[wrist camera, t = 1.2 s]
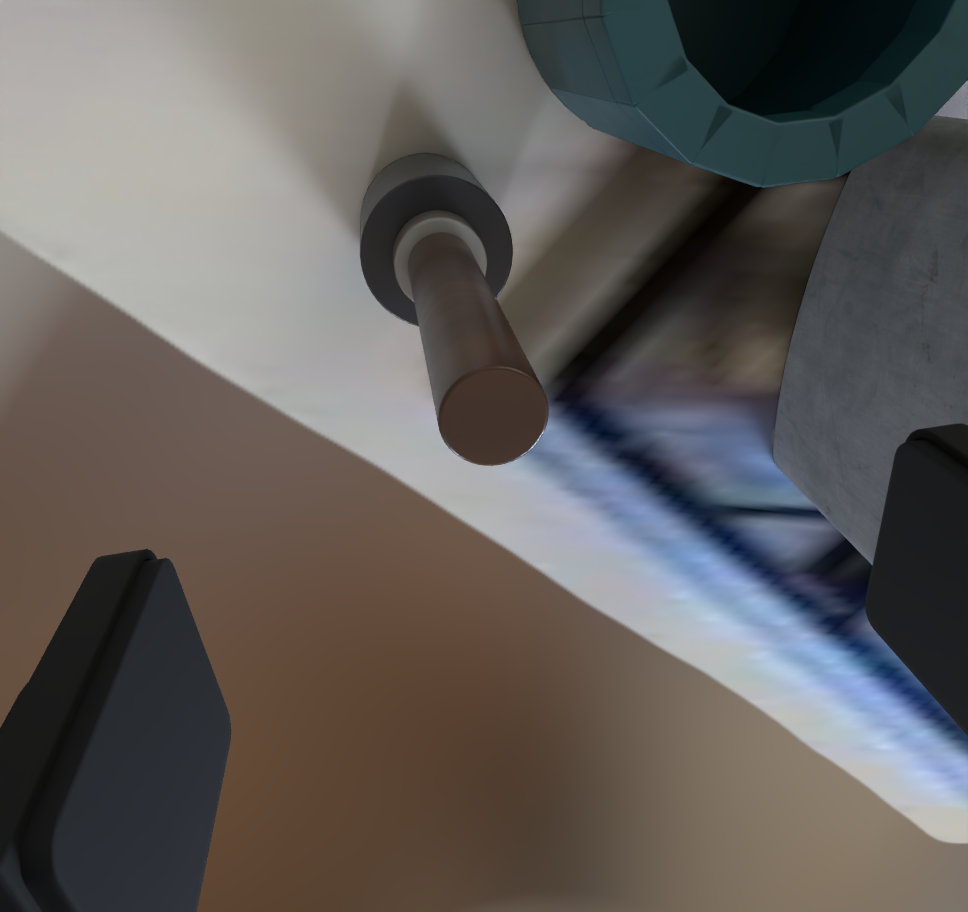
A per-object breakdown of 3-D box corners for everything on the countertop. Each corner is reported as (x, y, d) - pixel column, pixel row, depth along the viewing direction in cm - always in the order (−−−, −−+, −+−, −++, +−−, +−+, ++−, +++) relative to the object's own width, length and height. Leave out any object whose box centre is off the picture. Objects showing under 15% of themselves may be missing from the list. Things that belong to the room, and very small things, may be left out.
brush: (349, 161, 26) (332, 306, 12) (483, 145, 26) (625, 266, 12) (372, 293, 28) (382, 548, 14) (495, 277, 29) (625, 508, 15)
